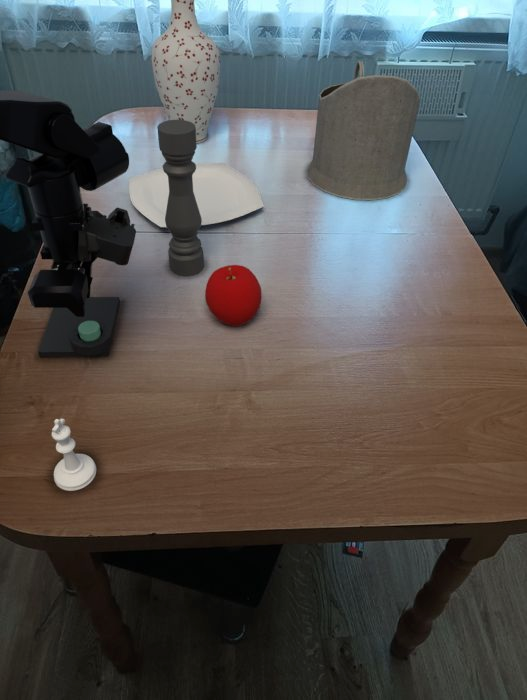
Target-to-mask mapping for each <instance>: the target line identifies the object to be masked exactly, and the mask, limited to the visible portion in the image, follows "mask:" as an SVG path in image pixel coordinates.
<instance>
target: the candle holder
mask: <svg viewBox="0 0 527 700" xmlns="http://www.w3.org/2000/svg"><path fill="white" fill-rule="evenodd" d="M156 129H157V137H158V146H159V147H158V148H159V151H160V152H161V155H162V157H163V158H164V160H165V162H164V163H163V165H162V168H163V170H164V172H165V173H166V174H167V176H168V183H169V196H168V203H167V209H166V215H165V223H166V226H167V228H166V229H167V231H169V233H170V235H171V239H170V240H169V242H168V247H169V248H168V250H167V254H168V255H167V257H168V262H169V263H168V264H169V269H170V271H171V273H172V274H174V275H177V276H179V277H192V276H193V277H194V276H196V275H199V274H200V273H201V272H203V270H204V268H205V257H204V256H205V255H204V249H203V247H202V245H203V244H202V241H201V238H199V237H198V232H199V230H200V228H201V227H202V226H201V223H202V218H201V215H200V212H199V209H198V206H197V202H196V199H195V196H194V192H193V179H192V175H193V173H194V172H195V170H196V165H195V163H196V162H194V161H193V159H194V156H195V154H196V150H197V148H198V147H197V145H198V143H197V144H196V127H195V124H193V123H192V122H189V121H185V120H168V119H167V120H165V121H162V122H160V123H159V124H158V125H157V127H156Z"/></svg>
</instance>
